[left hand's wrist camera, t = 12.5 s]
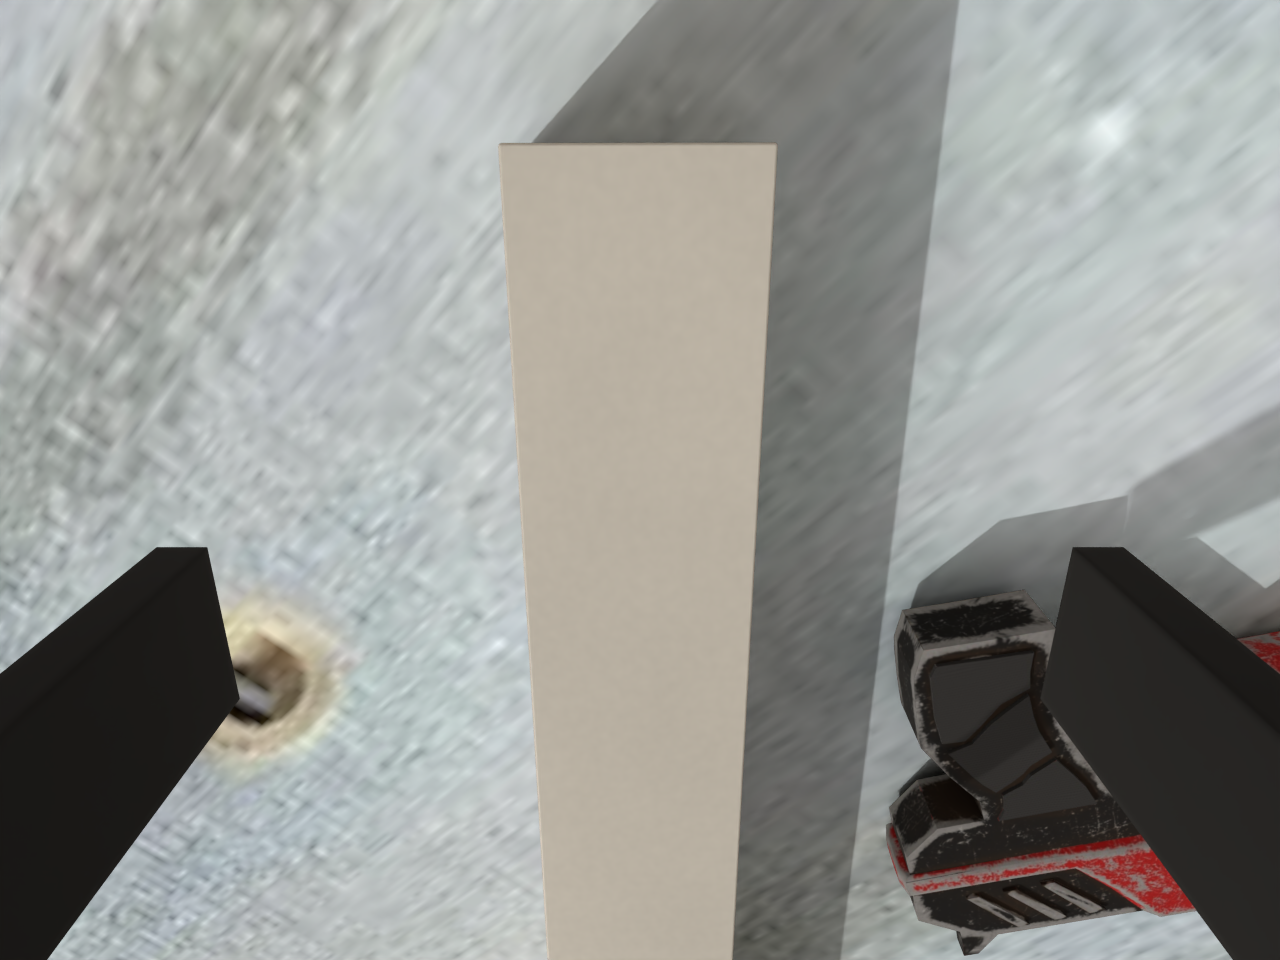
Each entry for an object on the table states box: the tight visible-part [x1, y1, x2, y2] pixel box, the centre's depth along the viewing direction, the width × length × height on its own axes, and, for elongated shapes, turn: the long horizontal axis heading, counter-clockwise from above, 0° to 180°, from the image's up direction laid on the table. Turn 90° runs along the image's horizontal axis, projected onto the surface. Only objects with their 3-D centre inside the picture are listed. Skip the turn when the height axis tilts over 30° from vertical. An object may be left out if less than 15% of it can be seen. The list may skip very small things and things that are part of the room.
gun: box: [886, 590, 1280, 956], centre depth 39 cm, size 4×31×19 cm
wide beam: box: [498, 142, 778, 960], centre depth 38 cm, size 55×9×7 cm, turn 0°
